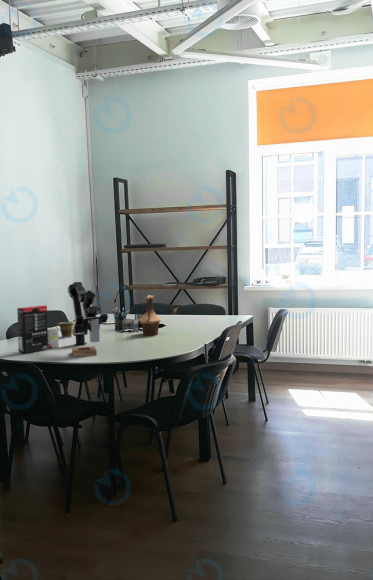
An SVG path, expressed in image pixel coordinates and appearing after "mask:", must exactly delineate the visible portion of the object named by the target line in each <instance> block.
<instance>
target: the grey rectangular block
mask: <svg viewBox="0 0 373 580" xmlns="http://www.w3.org/2000/svg"><path fill="white" fill-rule="evenodd" d="M88 322H89V325H90V328H91V332H90V331H89V330H88V332H89V333H88V334H89V342H90V343H100V341H101V340H100V328H99V319H89V321H88Z"/></svg>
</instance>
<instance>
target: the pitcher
mask: <svg viewBox="0 0 373 580" xmlns="http://www.w3.org/2000/svg"><path fill="white" fill-rule="evenodd" d="M154 297H155V295H151V294H149V295H147V296H146V297H145V300H146V302H147V311H146V312H145V313H144V314H143V315H142V316H141V317H140V318H138V320H137V321H139V322H140V323H141V329H142V335H143V336H155V335H158V334H159V327H160V322H161V321H162V320H163V319H162V318H161V317H160V316H158V315H157V314H156V312H155V310H154V307H153V300H154Z"/></svg>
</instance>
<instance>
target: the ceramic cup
mask: <svg viewBox="0 0 373 580" xmlns="http://www.w3.org/2000/svg"><path fill="white" fill-rule="evenodd" d="M74 323H75V321H62V322H59V323H55V328H58V327H57V326H59V328H58V331H59V332H60V333H61V337H62V338H63V337H68V338H72V337H73V333H72V331H73V327H74Z"/></svg>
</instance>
